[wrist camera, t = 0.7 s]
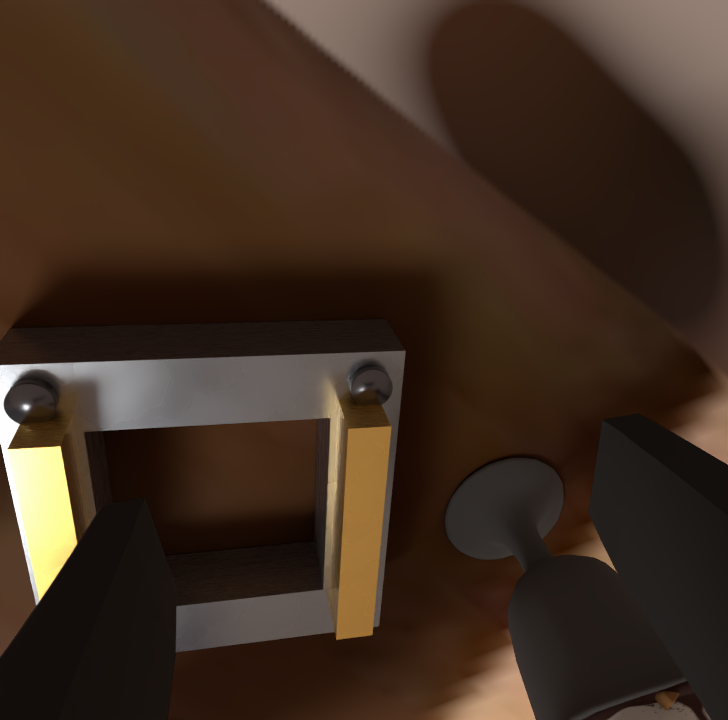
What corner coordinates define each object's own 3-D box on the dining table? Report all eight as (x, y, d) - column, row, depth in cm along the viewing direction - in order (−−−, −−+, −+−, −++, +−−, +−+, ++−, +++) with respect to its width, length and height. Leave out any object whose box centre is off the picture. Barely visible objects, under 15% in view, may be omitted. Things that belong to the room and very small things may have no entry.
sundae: (408, 466, 23) (658, 1014, 10) (580, 417, 24) (1021, 873, 11) (432, 591, 27) (647, 1134, 13) (583, 545, 27) (930, 1019, 14)
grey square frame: (65, 610, 23) (38, 713, 20) (9, 328, 18) (-38, 397, 15) (365, 577, 25) (389, 664, 22) (385, 318, 21) (421, 376, 17)
